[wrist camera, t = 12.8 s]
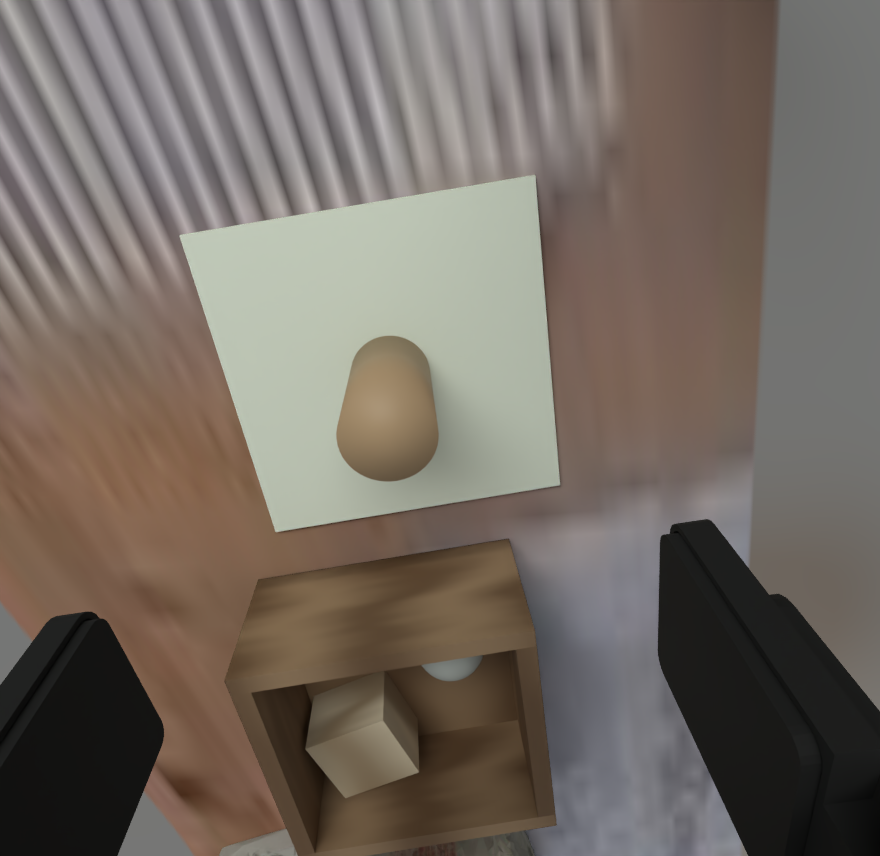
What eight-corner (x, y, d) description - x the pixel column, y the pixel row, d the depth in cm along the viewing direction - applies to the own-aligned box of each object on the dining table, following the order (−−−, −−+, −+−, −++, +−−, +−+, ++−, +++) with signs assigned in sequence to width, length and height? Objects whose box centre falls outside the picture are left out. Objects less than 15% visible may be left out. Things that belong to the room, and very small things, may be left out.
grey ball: (475, 587, 28) (484, 637, 25) (483, 638, 29) (493, 691, 27) (409, 598, 28) (410, 649, 25) (420, 648, 29) (422, 702, 27)
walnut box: (508, 538, 28) (534, 630, 23) (530, 715, 33) (556, 825, 28) (258, 579, 28) (224, 681, 23) (318, 749, 33) (302, 865, 28)
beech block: (384, 669, 30) (382, 720, 27) (417, 718, 32) (419, 772, 29) (313, 696, 30) (305, 749, 28) (349, 743, 32) (345, 798, 29)
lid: (530, 174, 22) (581, 180, 16) (555, 476, 27) (601, 568, 21) (186, 232, 22) (104, 261, 16) (279, 522, 28) (243, 627, 21)
